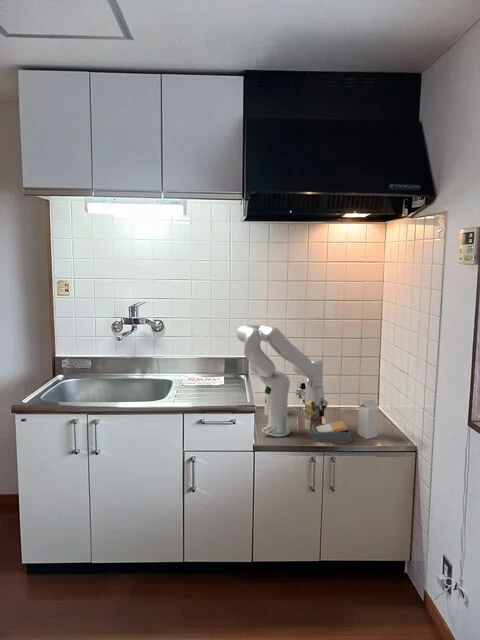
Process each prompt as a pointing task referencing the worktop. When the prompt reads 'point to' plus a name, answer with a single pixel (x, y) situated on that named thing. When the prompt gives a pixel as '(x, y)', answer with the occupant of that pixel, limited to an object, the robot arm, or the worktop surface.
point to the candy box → (312, 415)
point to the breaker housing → (330, 435)
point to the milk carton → (368, 419)
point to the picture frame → (332, 427)
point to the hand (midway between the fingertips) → (314, 414)
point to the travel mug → (267, 400)
